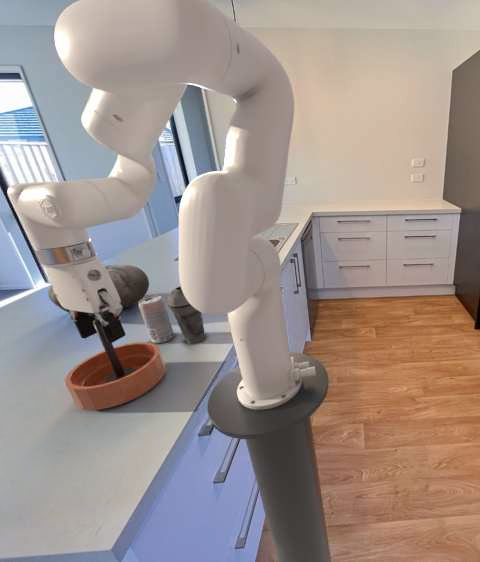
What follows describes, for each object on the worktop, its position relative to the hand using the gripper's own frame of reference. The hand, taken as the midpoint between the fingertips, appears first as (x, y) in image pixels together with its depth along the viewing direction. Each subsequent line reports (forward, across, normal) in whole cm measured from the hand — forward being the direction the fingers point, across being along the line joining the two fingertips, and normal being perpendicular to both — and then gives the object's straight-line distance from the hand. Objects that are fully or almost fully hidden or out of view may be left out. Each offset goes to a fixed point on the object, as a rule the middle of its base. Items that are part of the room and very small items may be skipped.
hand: (103, 336), depth 61 cm
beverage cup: (+13, -1, -19) cm, 23 cm away
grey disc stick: (+12, 0, 0) cm, 12 cm away
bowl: (+13, 0, 0) cm, 13 cm away
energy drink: (+13, +9, -17) cm, 23 cm away
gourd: (+13, +45, -27) cm, 54 cm away
